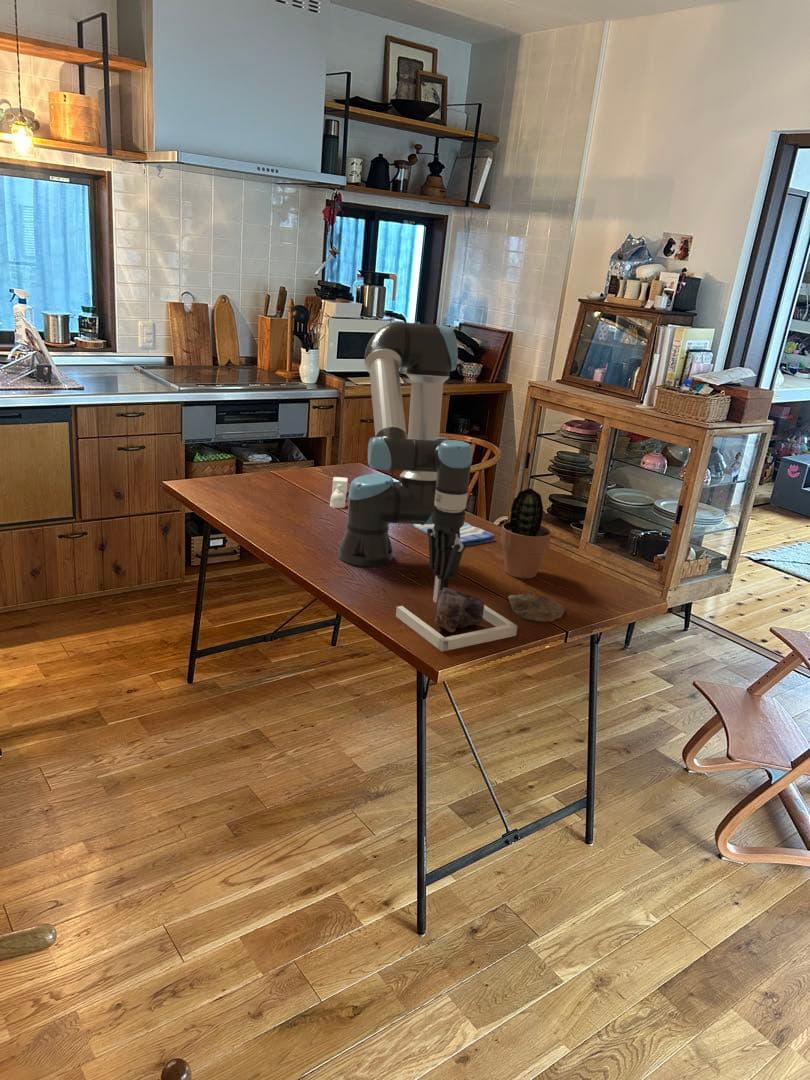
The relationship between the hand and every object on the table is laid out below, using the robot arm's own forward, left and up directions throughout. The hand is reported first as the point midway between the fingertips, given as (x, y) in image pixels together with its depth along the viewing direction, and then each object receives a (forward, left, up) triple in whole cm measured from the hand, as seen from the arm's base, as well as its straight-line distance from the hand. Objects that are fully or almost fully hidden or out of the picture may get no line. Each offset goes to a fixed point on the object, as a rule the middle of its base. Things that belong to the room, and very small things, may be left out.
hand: (439, 600), depth 197 cm
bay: (+7, 0, -3) cm, 7 cm away
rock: (+7, 0, -3) cm, 8 cm away
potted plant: (-14, +38, -4) cm, 41 cm away
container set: (-91, +21, -4) cm, 94 cm away
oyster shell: (+8, +25, -4) cm, 27 cm away
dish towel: (-50, +39, -4) cm, 63 cm away
